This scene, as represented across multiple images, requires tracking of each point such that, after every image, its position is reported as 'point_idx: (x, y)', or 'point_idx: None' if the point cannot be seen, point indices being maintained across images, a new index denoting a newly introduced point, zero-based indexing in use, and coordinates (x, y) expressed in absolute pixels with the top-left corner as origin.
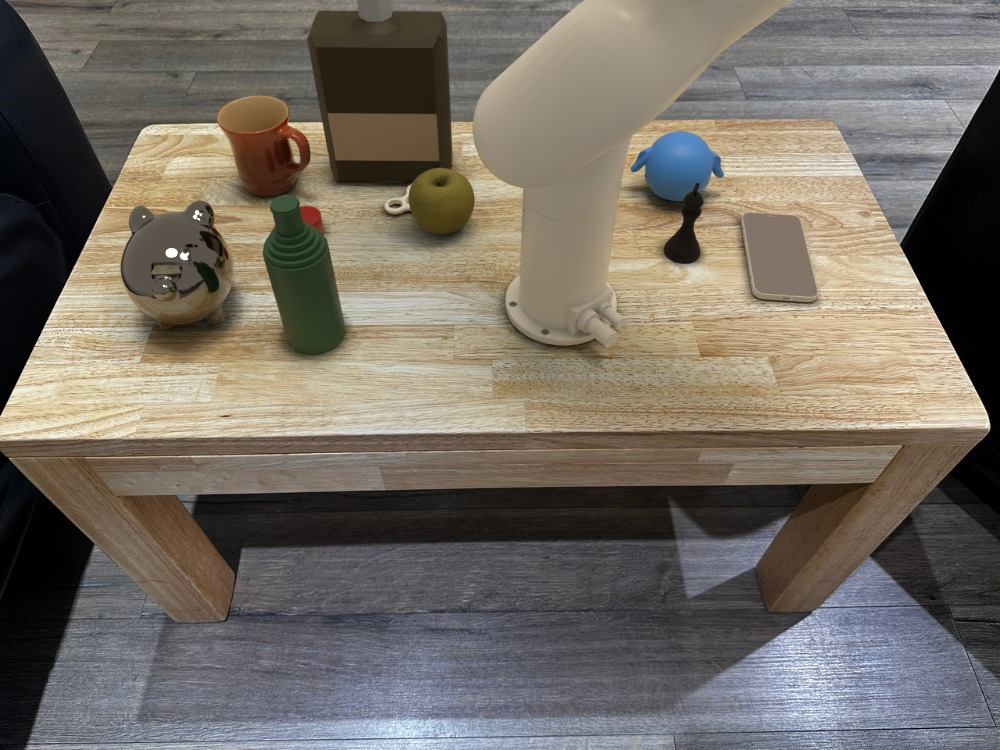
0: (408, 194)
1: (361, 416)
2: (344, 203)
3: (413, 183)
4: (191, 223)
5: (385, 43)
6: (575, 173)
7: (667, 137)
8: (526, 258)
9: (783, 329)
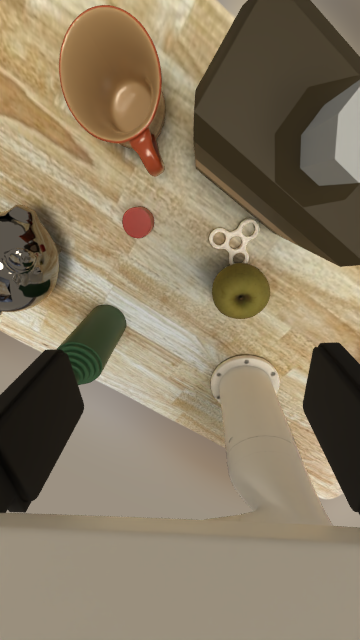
0: (237, 233)
1: (109, 380)
2: (186, 199)
3: (223, 283)
4: (8, 275)
5: (292, 216)
6: (251, 508)
7: None
8: (223, 415)
9: (320, 446)
